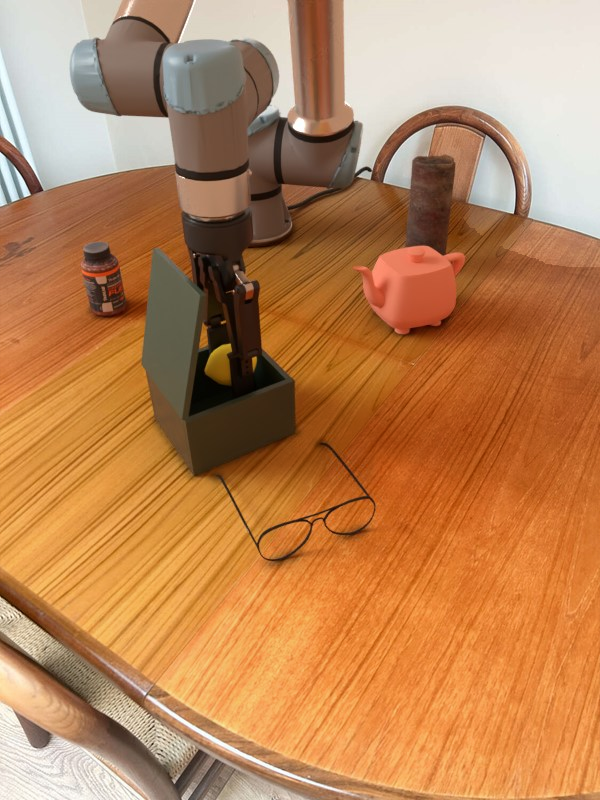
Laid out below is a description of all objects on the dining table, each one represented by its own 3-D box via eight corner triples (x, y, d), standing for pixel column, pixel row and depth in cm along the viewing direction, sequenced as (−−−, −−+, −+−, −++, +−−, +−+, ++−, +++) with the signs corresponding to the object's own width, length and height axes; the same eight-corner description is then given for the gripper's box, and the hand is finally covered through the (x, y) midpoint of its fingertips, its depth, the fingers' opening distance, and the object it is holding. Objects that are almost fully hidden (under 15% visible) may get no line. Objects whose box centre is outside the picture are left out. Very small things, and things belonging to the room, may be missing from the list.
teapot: (436, 288, 115) (446, 224, 107) (476, 322, 106) (489, 254, 99) (333, 313, 109) (335, 247, 101) (367, 351, 100) (372, 281, 92)
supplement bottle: (118, 319, 108) (105, 257, 100) (85, 316, 109) (69, 253, 101) (132, 301, 112) (120, 239, 105) (100, 297, 113) (86, 236, 106)
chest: (250, 383, 94) (246, 332, 89) (295, 433, 86) (294, 380, 80) (154, 419, 88) (144, 366, 83) (194, 476, 80) (185, 422, 75)
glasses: (259, 569, 70) (254, 535, 67) (217, 486, 81) (212, 454, 78) (377, 526, 74) (377, 492, 71) (322, 453, 86) (320, 422, 83)
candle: (397, 271, 119) (408, 161, 107) (407, 254, 125) (419, 147, 112) (439, 279, 117) (454, 167, 104) (447, 261, 122) (463, 152, 110)
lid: (159, 247, 75) (152, 247, 74) (207, 295, 67) (200, 295, 66) (146, 363, 83) (140, 364, 82) (188, 419, 74) (181, 420, 74)
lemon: (250, 363, 87) (247, 329, 84) (265, 386, 84) (263, 351, 80) (200, 377, 85) (195, 342, 82) (213, 401, 81) (209, 366, 78)
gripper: (291, 231, 65) (294, 409, 80) (210, 173, 77) (226, 337, 92) (223, 250, 62) (239, 432, 77) (150, 187, 74) (176, 354, 89)
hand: (232, 380), depth 84 cm, fingers closed on lemon, 5 cm apart
